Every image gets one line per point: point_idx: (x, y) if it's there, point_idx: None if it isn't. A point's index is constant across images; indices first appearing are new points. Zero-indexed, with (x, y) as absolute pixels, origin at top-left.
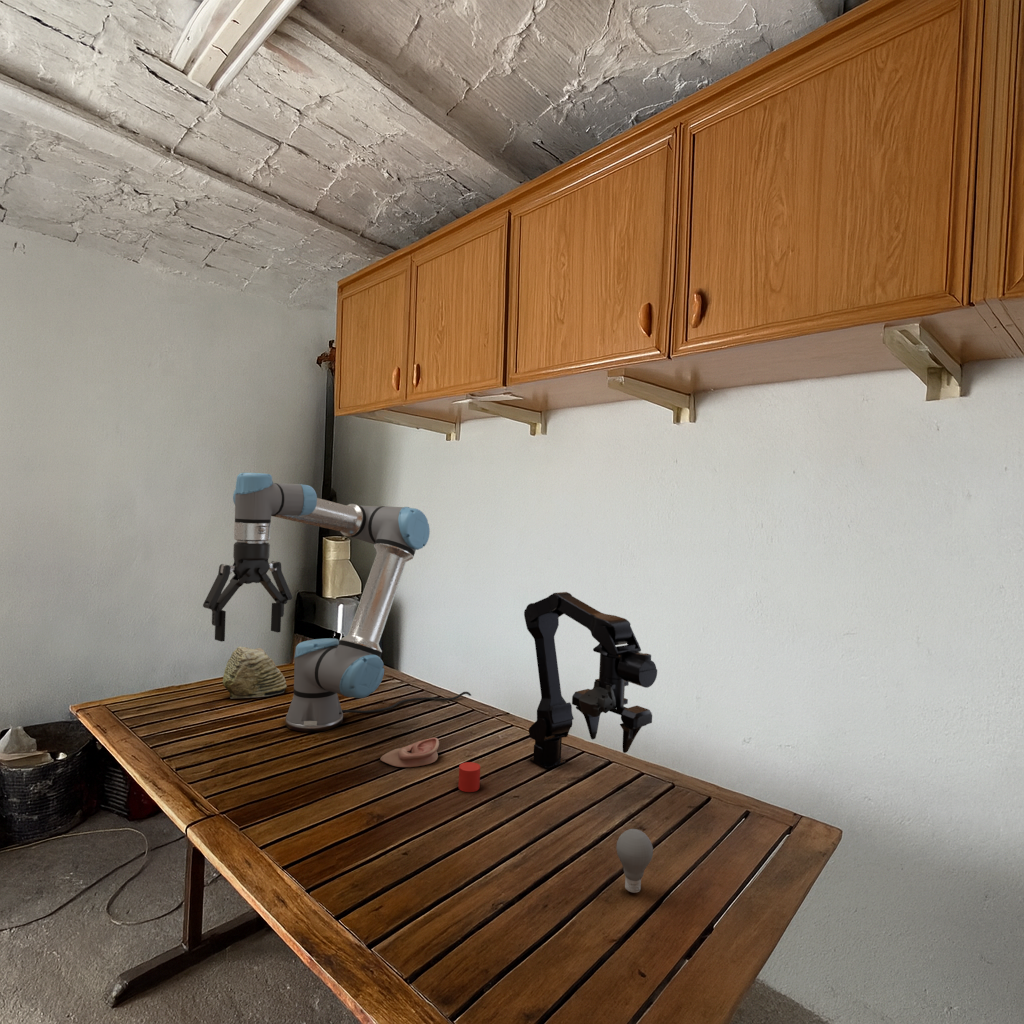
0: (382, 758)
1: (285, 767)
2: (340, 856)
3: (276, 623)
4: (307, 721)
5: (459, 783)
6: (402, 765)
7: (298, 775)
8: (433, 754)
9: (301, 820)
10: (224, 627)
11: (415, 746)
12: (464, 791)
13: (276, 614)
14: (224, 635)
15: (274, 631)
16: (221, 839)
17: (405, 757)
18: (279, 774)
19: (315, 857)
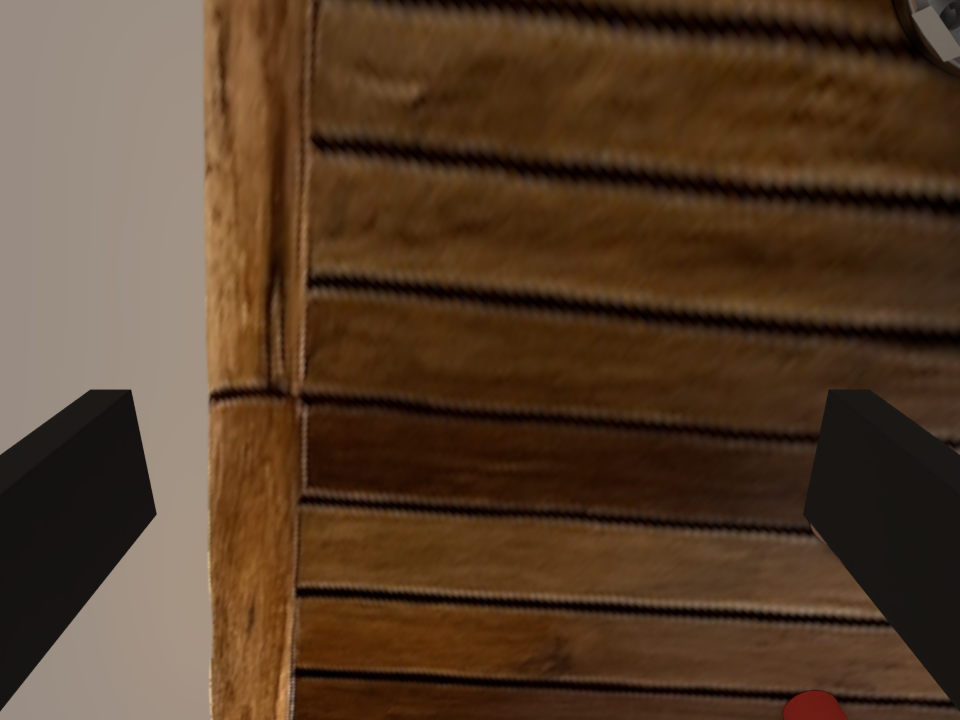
0: None
1: (603, 272)
2: (397, 712)
3: (864, 554)
4: (938, 19)
5: (794, 715)
6: (821, 537)
7: (589, 355)
8: None
9: (428, 563)
10: (59, 624)
11: None
12: (783, 717)
13: (947, 644)
14: (120, 553)
15: (814, 461)
16: (247, 507)
17: (838, 559)
18: (555, 305)
19: (360, 685)
